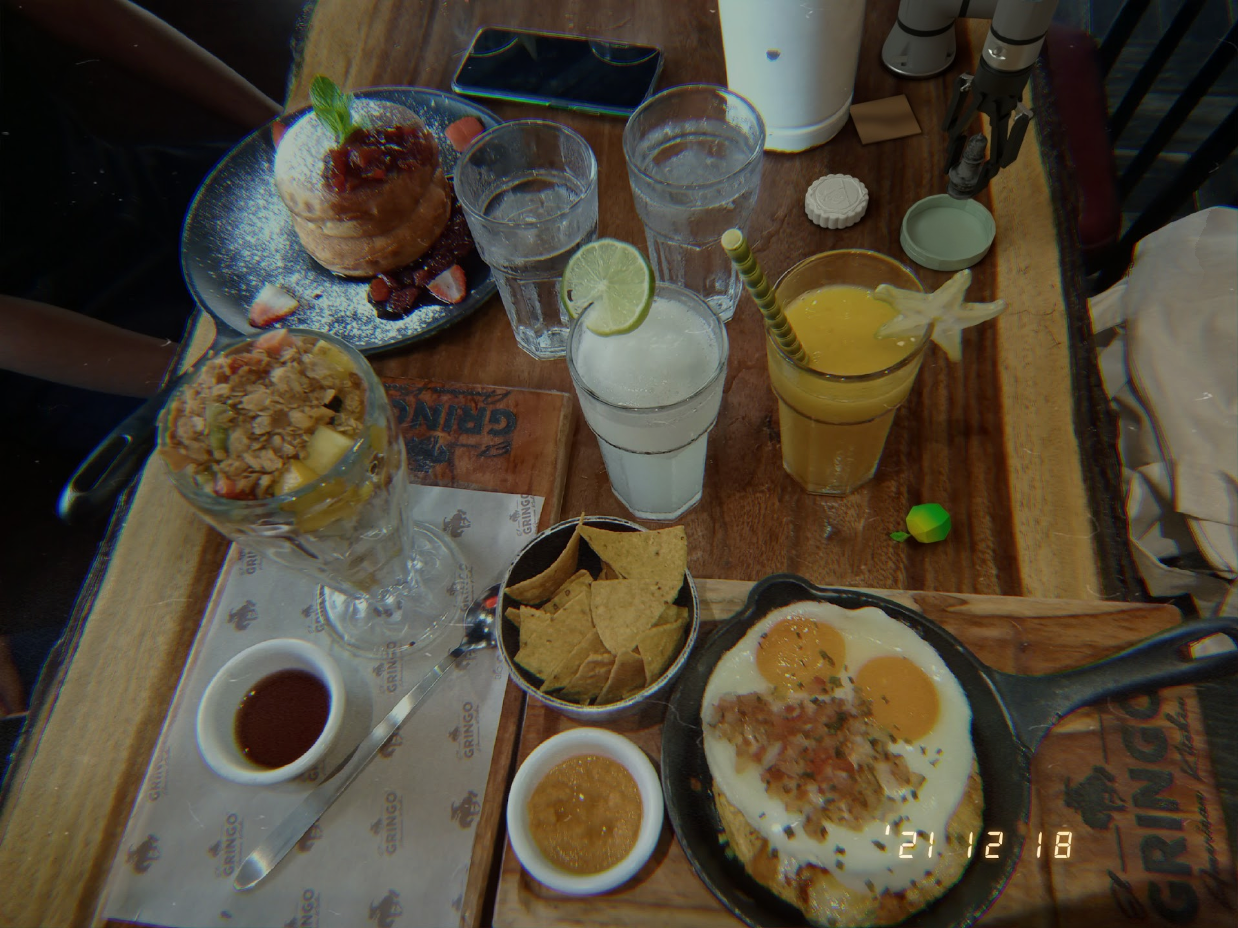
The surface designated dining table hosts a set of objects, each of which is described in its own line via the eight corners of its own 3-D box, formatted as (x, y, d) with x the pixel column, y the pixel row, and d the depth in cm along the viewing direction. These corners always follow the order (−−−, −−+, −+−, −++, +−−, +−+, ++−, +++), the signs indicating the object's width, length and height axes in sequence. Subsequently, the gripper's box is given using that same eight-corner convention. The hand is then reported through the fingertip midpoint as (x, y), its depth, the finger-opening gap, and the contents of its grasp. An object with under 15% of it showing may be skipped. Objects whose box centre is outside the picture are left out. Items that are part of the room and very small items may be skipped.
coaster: (847, 107, 158) (848, 106, 157) (904, 96, 157) (904, 94, 156) (862, 145, 152) (863, 144, 152) (921, 133, 151) (921, 132, 151)
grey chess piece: (979, 202, 127) (1001, 146, 116) (943, 201, 128) (962, 145, 117) (979, 177, 129) (1001, 120, 118) (944, 176, 130) (962, 119, 120)
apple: (951, 497, 109) (905, 531, 108) (968, 532, 110) (922, 565, 109) (920, 489, 116) (876, 521, 114) (936, 522, 117) (893, 553, 116)
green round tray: (889, 215, 143) (892, 203, 141) (973, 198, 142) (978, 186, 139) (914, 278, 136) (917, 267, 133) (1003, 261, 135) (1008, 250, 132)
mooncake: (799, 191, 149) (800, 177, 146) (858, 180, 148) (861, 166, 145) (811, 234, 144) (812, 221, 141) (873, 224, 143) (876, 210, 140)
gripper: (939, 41, 110) (907, 163, 130) (1045, 100, 102) (993, 220, 122) (975, 16, 111) (938, 141, 131) (1082, 73, 103) (1025, 196, 123)
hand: (965, 179), depth 127 cm, fingers closed on grey chess piece, 6 cm apart
